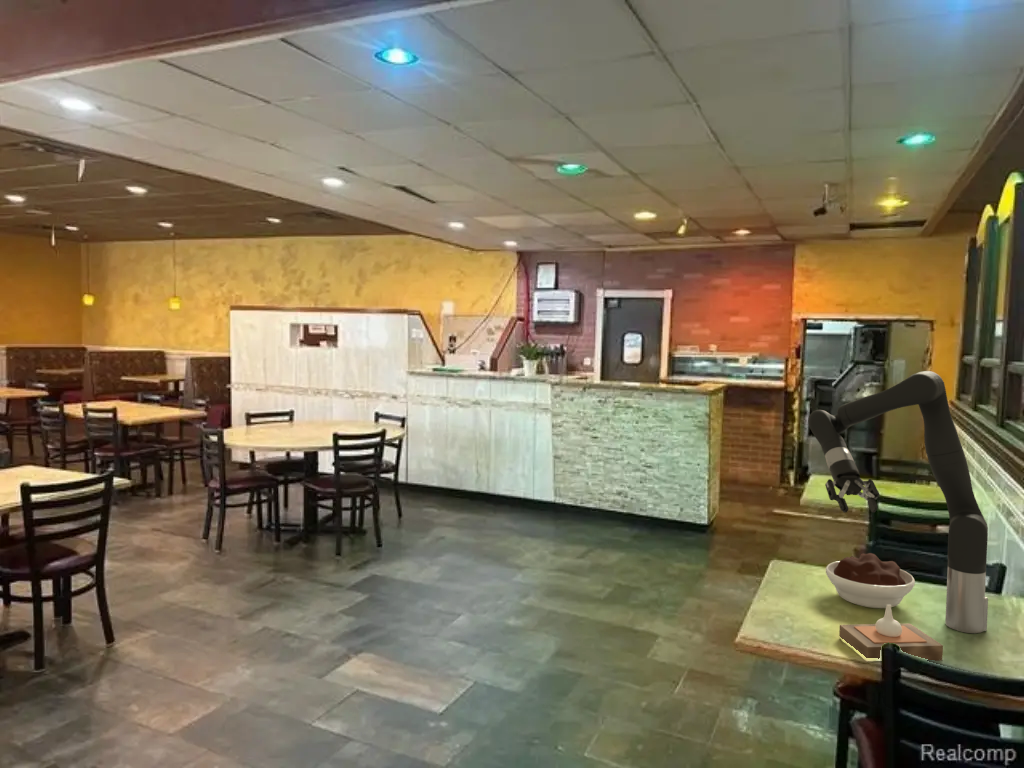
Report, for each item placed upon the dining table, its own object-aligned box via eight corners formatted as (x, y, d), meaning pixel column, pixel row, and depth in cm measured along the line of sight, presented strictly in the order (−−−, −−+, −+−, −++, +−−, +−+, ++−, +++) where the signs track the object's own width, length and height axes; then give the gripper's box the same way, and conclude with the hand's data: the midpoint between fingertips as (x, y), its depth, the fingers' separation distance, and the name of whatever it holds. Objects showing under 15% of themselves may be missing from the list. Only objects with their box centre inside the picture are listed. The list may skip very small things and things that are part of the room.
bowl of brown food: (927, 620, 206) (930, 570, 205) (838, 615, 210) (839, 566, 209) (895, 590, 230) (897, 545, 229) (815, 586, 234) (817, 542, 233)
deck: (909, 637, 194) (909, 623, 194) (942, 660, 180) (943, 645, 180) (839, 638, 193) (839, 624, 193) (867, 662, 179) (867, 647, 179)
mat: (903, 626, 192) (903, 625, 192) (926, 642, 182) (926, 641, 182) (854, 627, 191) (854, 626, 191) (874, 643, 181) (874, 642, 181)
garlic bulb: (898, 631, 189) (898, 602, 189) (905, 639, 183) (905, 608, 183) (872, 629, 190) (873, 599, 190) (878, 636, 184) (879, 606, 184)
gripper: (823, 458, 212) (841, 504, 201) (869, 458, 212) (889, 504, 202) (814, 472, 217) (832, 518, 207) (859, 472, 218) (878, 517, 207)
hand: (860, 511), depth 204 cm, fingers open, 8 cm apart
